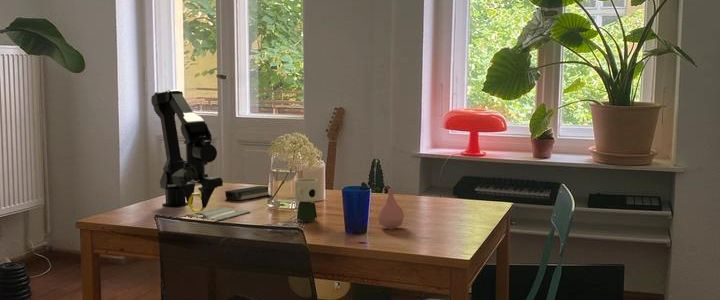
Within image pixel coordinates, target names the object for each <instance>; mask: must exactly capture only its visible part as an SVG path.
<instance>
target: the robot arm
mask: <svg viewBox="0 0 720 300" xmlns="http://www.w3.org/2000/svg"><path fill="white" fill-rule="evenodd" d="M150 98H151V99H150V100H151V104H152V106H153V111H154V113H155V114H156V115H157V117H159V120H160V124H161V131H162V136H163V137H162V138H163V143H164V149H165V156H166V161H165V162H164V166H163V168H162V169H163V173H162V175H161V178H160V180H159V185H160V188H161V189H163V190H164V193H165V202H164V203H162V206H165V207H171V208H177V207H181V206H187V205H188V206H189V204H188V200H189V197H190V196H191V195H192V193H195V187H196V184H198V185H199V184H200V186H201V187H198V188H197V190H199V193H201V198H202V200H201V208H202V207H203V208H204V209H205V208H207V205H208V203H209V201H210V198H211V197H212V195H213V193H214V191H215V189H217V188H219V187H223V183H224V182H223V179H222V177H221V176H209V175H208V173H206V169H205V168H206V167H205V166H207V165H208V163H212V162H213V161H215V160H216V158H217V156H218V150H217V148H216V146H214V145H213V144H211V143H212V141H213V140H212V134H211V132H210V129H209V127H208V124H207V123H206V121H205V120H204V119H203V118H202V117H201V116H200V115H199V114H198V115H197V114H196V113H194V110H192V109H191V107H190V105H189V103H188V102H187V100H186V98H185V97H184V94H183V91H182V90H180V89H168V90H165V91H158V92H157V91H156V92H154V94H153V95H152V96H151V97H150ZM175 115H176V116H177V118H178V119H179V121H180V124H181V125H180V131H181V135H182V136H183V138H184V141H183V144H185V157H186V159H185V160H184V158H183V157H182V156H181V150H180V149H181V148H180V142H179V135H178V130H177V123H176V118H175ZM201 198H200V199H201ZM193 201H194V197H193V198H192V203H193Z"/></svg>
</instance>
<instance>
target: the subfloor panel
mask: <svg viewBox="0 0 720 300" xmlns="http://www.w3.org/2000/svg"><path fill="white" fill-rule="evenodd" d="M250 213H251V211H250V210H249V211H248V210H244V209H243V210H242V209H235V208H230V207H223V206H221V207H216V208H211V209H208V210H203V211H198V212H196V213H193V214H187V215H183V216H182V217H186V216H188V217H190V218H192V217H196V216H197V217H196V218H198V215H203V217H199V218H201V219H203V220H204V219H207V220H209V219H211V220H215V219H216V220H221V221H224V219H225V220H228V219H227V218H229V219H232V218H236V217H240V216H244V215H247V214H250ZM194 214H195V215H194ZM243 214H244V215H243ZM239 215H240V216H239ZM235 216H236V217H235ZM231 217H232V218H231Z"/></svg>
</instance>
